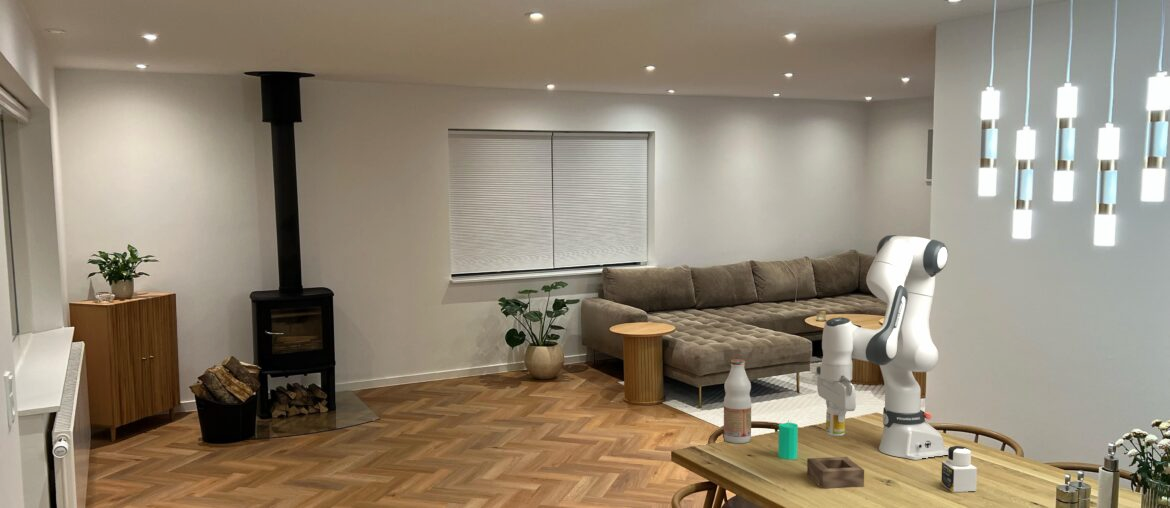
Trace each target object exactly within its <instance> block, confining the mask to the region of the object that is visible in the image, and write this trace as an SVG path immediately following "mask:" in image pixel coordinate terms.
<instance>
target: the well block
mask: <svg viewBox="0 0 1170 508" xmlns="http://www.w3.org/2000/svg"><path fill="white" fill-rule="evenodd" d="M806 459H807V461H806V474H807V476H808V477H810V479H811V480H813V482H815V483H816V484H817V485H818V486H819V487H820V488H821V489H824V490H825V489H841V488H862V487H865V469H864V468H863V467H861V466H859V465H858V464H857V463H855V461H853V460H851V458H849V457H848V456H831V457H811V458H806Z"/></svg>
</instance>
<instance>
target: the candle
mask: <svg viewBox="0 0 1170 508" xmlns="http://www.w3.org/2000/svg"><path fill="white" fill-rule="evenodd" d="M798 428H799V427H798V424H797V423H794V422H789V420H788V421H787V422H784V423H779V424H778V450H777V451H778V458H780V459H783V460H795V459H797V458H798V435H799V434H798V431H799V429H798Z"/></svg>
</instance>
